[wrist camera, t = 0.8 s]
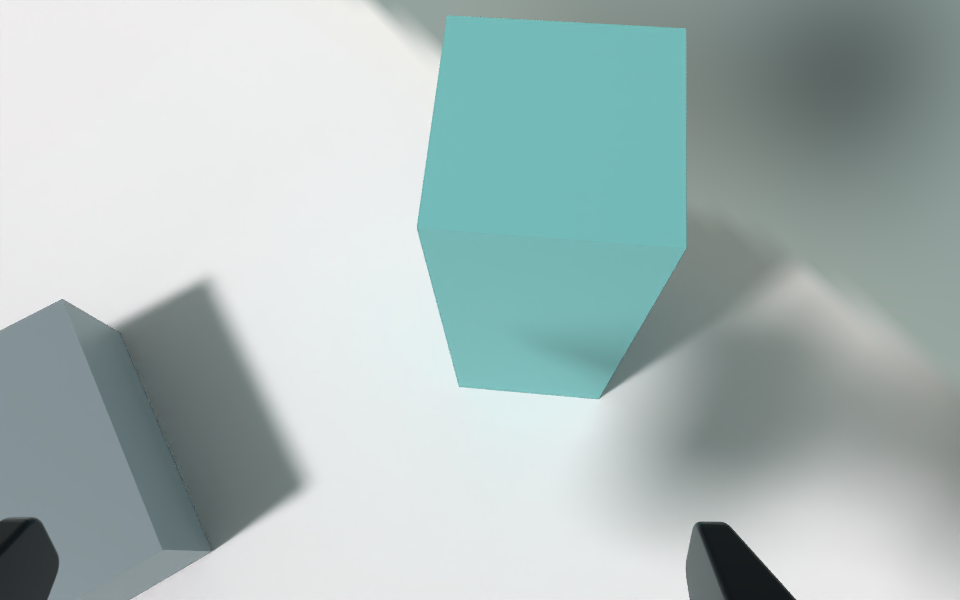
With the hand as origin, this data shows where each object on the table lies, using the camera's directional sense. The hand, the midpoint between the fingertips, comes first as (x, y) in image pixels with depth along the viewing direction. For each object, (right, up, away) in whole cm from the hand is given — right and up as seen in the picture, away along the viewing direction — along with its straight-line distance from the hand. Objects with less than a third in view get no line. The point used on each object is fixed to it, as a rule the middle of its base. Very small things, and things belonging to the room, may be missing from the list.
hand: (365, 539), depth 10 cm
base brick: (-14, -4, +15) cm, 21 cm away
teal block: (+4, +2, +16) cm, 17 cm away
